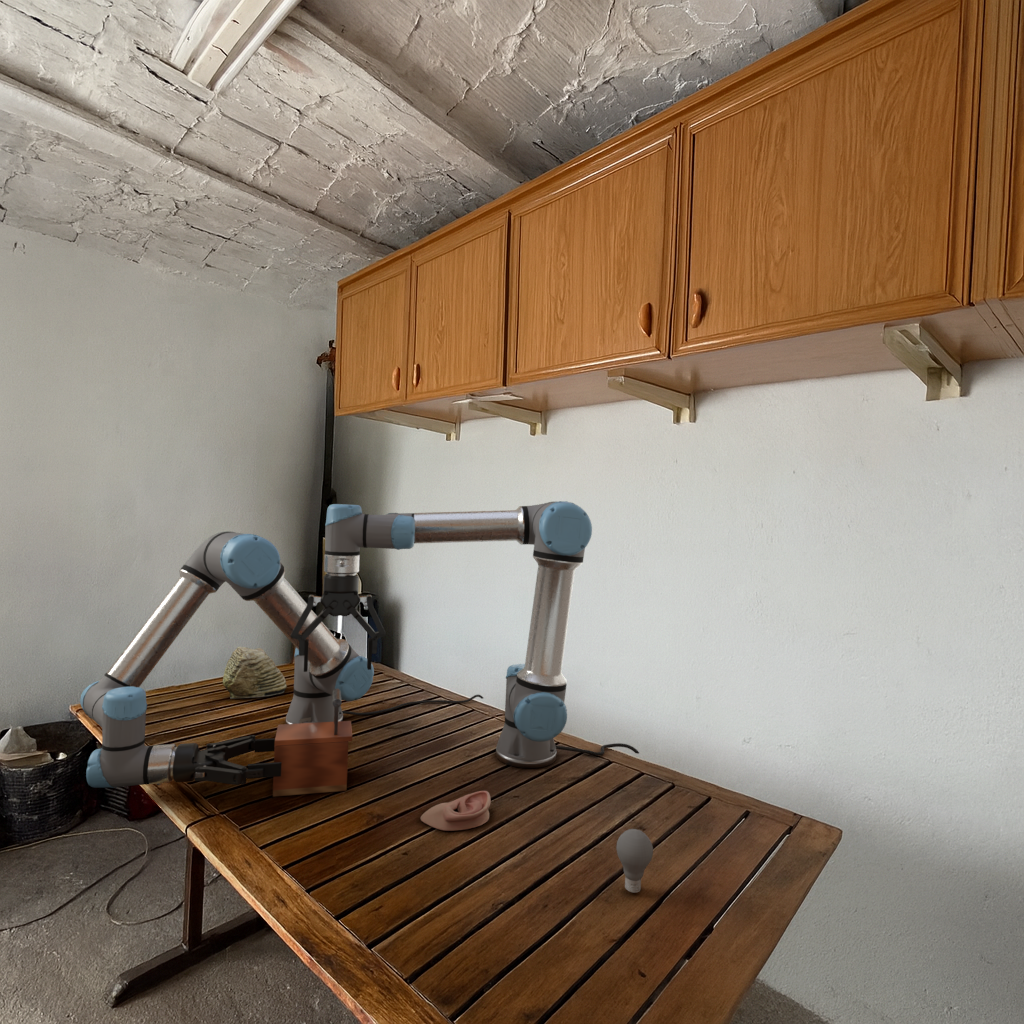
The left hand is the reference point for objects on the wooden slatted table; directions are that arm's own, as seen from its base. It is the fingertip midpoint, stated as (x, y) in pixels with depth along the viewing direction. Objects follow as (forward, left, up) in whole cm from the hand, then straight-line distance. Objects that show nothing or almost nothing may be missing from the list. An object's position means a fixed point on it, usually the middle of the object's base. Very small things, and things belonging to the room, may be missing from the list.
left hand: (283, 755), depth 138 cm
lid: (-5, +4, +4) cm, 7 cm away
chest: (-5, +3, -7) cm, 9 cm away
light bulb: (-19, +75, -7) cm, 78 cm away
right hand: (-9, +6, +19) cm, 21 cm away
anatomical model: (-16, +37, -7) cm, 41 cm away
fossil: (-28, -61, -7) cm, 68 cm away
